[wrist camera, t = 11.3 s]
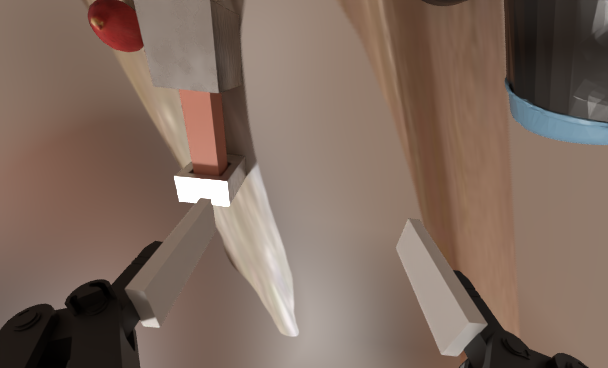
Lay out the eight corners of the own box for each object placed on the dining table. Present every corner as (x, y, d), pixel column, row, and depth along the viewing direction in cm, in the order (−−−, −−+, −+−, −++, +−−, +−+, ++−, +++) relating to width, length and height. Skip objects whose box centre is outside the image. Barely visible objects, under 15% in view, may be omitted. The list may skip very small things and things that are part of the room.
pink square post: (191, 70, 31) (175, 71, 28) (219, 73, 31) (207, 74, 28) (207, 180, 40) (197, 191, 37) (229, 182, 40) (221, 194, 37)
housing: (182, 9, 31) (131, -10, 22) (239, 15, 31) (209, -1, 22) (192, 79, 35) (153, 86, 27) (242, 84, 35) (218, 93, 27)
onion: (121, 46, 33) (71, 42, 27) (115, -1, 31) (56, -19, 24) (160, 57, 34) (121, 57, 27) (157, 12, 31) (112, -1, 24)
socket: (203, 151, 42) (173, 176, 33) (245, 156, 42) (226, 181, 33) (206, 172, 44) (179, 200, 35) (246, 176, 44) (229, 205, 35)
